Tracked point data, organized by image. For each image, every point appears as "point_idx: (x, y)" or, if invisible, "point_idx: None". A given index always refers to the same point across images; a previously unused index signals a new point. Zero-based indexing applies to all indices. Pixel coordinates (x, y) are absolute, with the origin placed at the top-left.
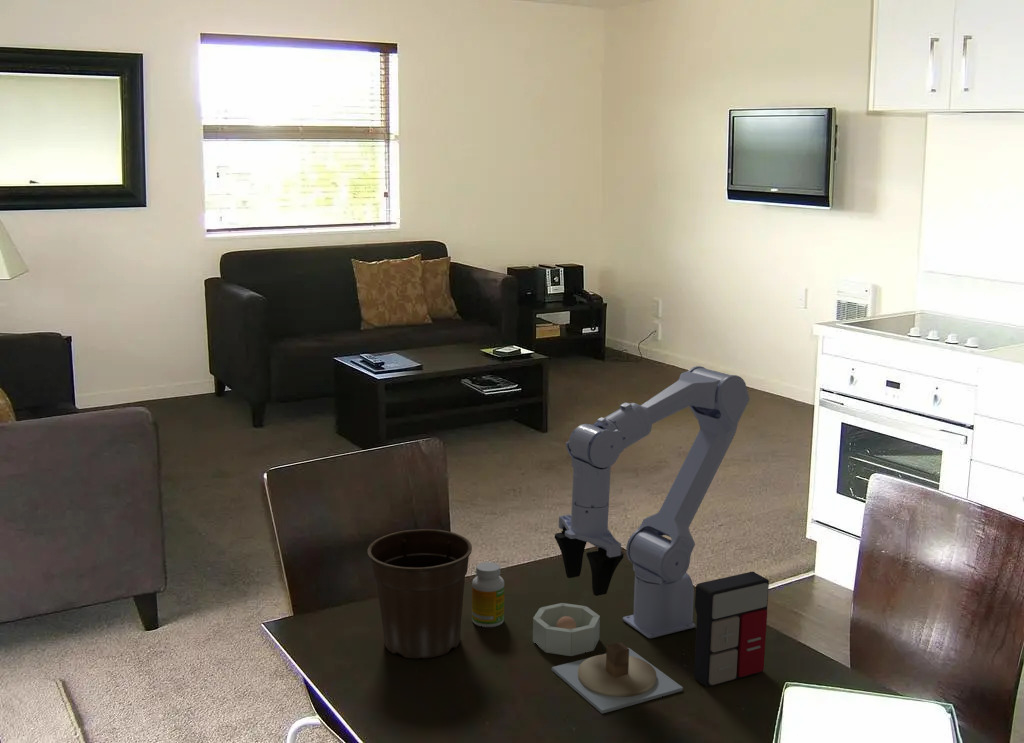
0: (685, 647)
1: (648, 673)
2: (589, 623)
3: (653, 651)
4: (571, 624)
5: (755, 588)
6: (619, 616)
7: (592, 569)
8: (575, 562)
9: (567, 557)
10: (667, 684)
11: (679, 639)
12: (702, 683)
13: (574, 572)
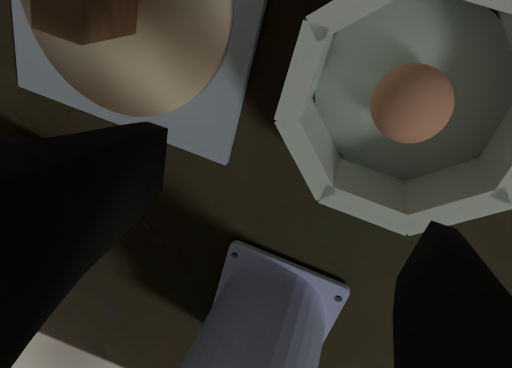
0: (163, 250)
1: (74, 66)
2: (359, 178)
3: (189, 196)
4: (377, 102)
5: None
6: (372, 300)
7: (3, 165)
8: (420, 333)
9: (470, 329)
10: (42, 72)
11: (195, 273)
12: (25, 135)
13: (414, 271)
